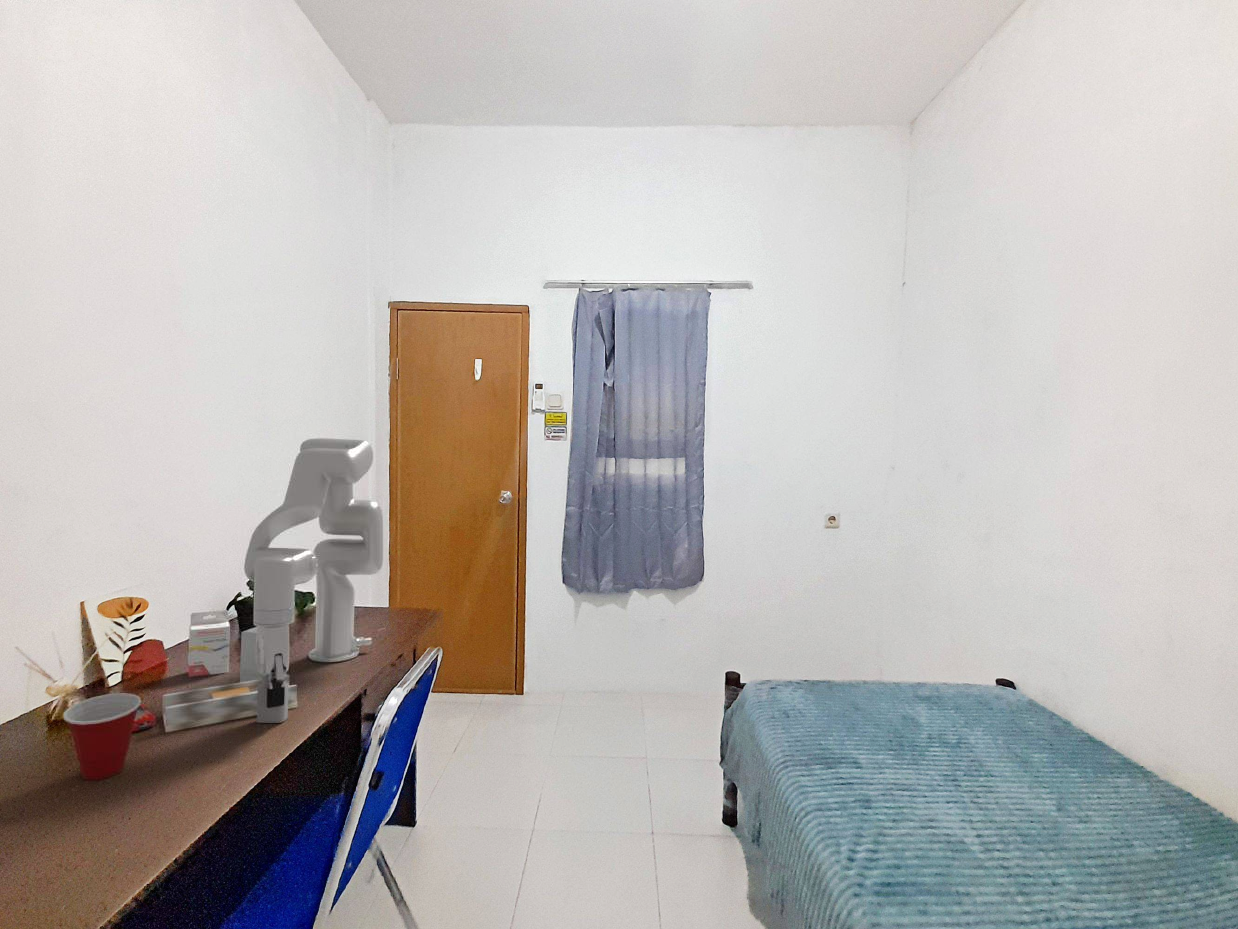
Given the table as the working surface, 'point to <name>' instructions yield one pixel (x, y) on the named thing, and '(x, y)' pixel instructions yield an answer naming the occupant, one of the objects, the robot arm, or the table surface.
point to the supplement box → (249, 656)
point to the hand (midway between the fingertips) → (272, 700)
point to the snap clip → (230, 692)
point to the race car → (143, 719)
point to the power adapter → (273, 713)
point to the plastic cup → (102, 732)
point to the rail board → (214, 705)
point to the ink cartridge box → (209, 643)
